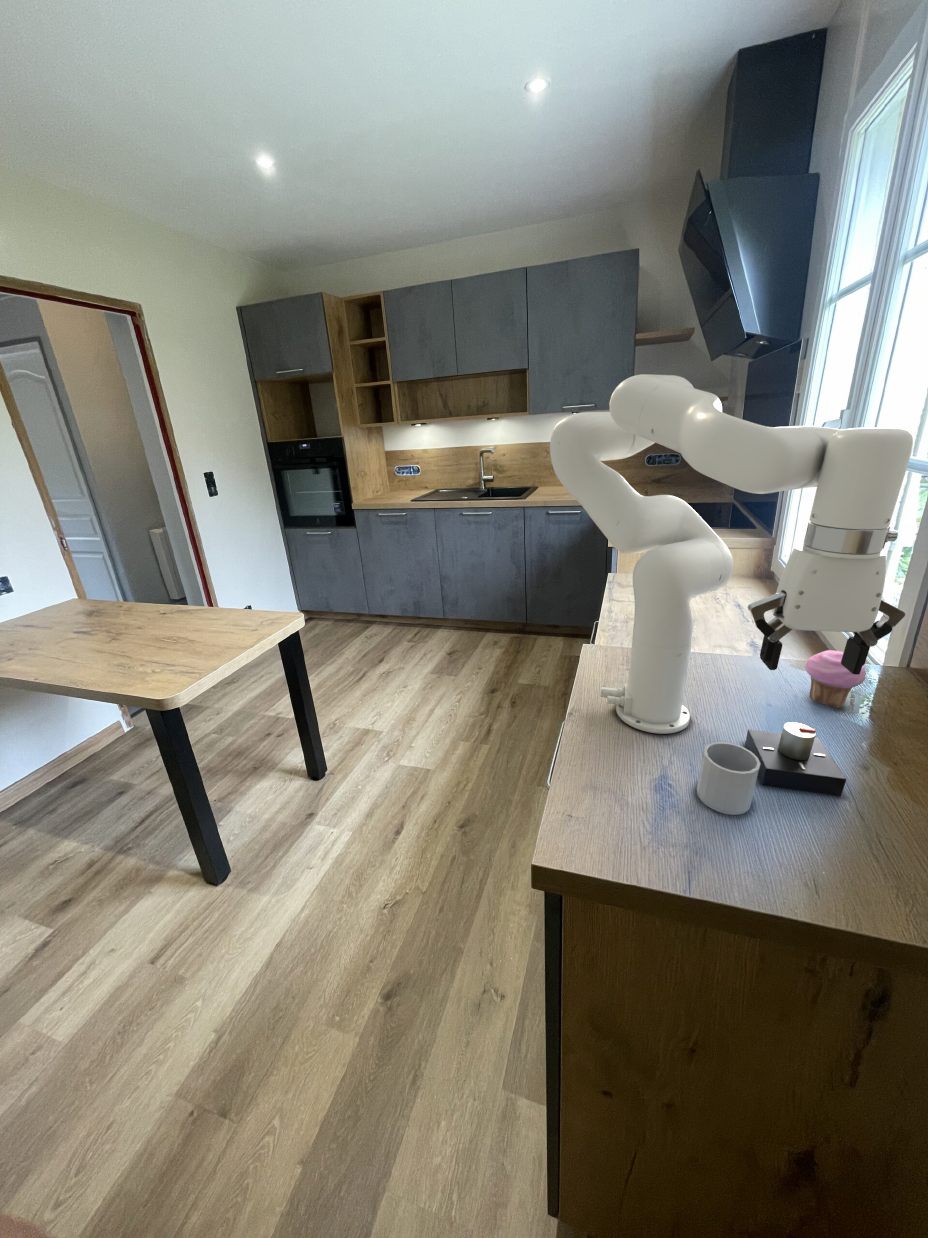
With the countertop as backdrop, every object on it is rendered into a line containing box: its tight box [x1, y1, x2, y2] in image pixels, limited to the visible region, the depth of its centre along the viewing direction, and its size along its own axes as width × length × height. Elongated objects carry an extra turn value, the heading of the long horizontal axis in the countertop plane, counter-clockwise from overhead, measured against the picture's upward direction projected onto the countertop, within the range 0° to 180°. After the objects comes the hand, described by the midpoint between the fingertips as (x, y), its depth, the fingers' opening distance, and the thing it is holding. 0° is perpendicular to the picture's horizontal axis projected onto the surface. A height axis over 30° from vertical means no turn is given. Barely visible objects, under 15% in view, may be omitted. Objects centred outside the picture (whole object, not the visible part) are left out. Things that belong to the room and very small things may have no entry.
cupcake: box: [805, 649, 867, 709], centre depth 90 cm, size 9×9×10 cm
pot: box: [696, 741, 760, 816], centre depth 68 cm, size 7×7×7 cm
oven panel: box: [744, 729, 847, 797], centre depth 74 cm, size 10×10×3 cm
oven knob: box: [778, 721, 817, 760], centre depth 72 cm, size 4×4×4 cm
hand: (808, 667), depth 64 cm, fingers open, 9 cm apart
